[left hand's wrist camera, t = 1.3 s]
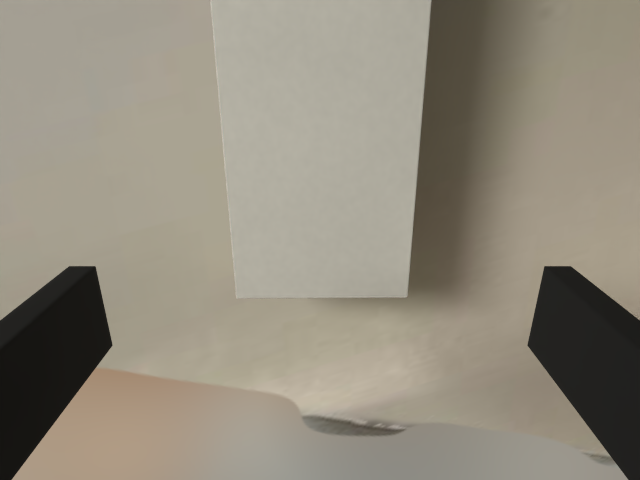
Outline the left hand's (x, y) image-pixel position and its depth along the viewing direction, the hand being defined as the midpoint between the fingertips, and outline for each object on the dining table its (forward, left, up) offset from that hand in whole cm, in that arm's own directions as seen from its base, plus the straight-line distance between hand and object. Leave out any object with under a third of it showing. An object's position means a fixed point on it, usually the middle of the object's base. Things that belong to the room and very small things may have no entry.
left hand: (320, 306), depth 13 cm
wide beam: (+3, -31, -18) cm, 36 cm away
